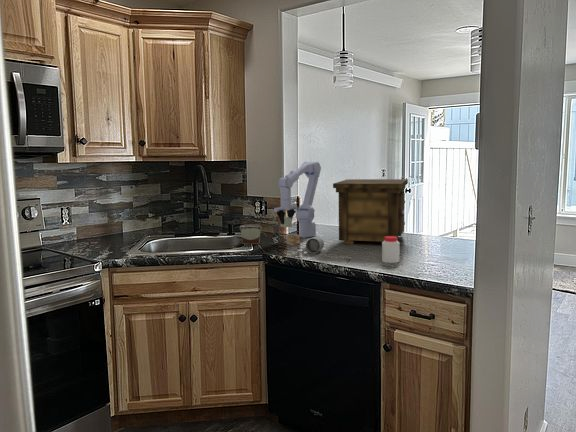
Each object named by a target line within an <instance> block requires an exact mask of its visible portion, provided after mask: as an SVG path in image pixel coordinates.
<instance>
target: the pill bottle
mask: <svg viewBox="0 0 576 432" xmlns="http://www.w3.org/2000/svg"><path fill="white" fill-rule="evenodd" d="M400 248H401V247H400V241H399V240H398V241H397V237H396V236H385V240H384V241H383V242H381V261H382V262H383V263H386V264H397V263H400V255H401V254H400Z"/></svg>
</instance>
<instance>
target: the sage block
mask: <svg viewBox="0 0 576 432" xmlns="http://www.w3.org/2000/svg"><path fill="white" fill-rule="evenodd" d="M292 224H293V219H292V218H291V217H288V216H284V224H281V223H280V227H281V228H292V227H293V225H292Z"/></svg>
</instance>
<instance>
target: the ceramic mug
mask: <svg viewBox="0 0 576 432" xmlns="http://www.w3.org/2000/svg"><path fill="white" fill-rule="evenodd" d="M324 245H325V243H324V240H323V238H322V237H319V236H313V237H309V238H308V239H307V241H306V242H305V247H303V248H301V251H302V252H306V251H307V252H308V253H309V254H312V253H315V254H317V253H319V252H320V251H322V250H323V249H324Z"/></svg>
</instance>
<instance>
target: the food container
mask: <svg viewBox="0 0 576 432" xmlns="http://www.w3.org/2000/svg"><path fill="white" fill-rule="evenodd" d="M238 229H239V230H240V233H241V234H240V235H241V241H242V245H259V244H260V243H261V242H260V241H261V231H262V230H263V229H262V226H261V224H254V223H251V224H242V225H239V228H238ZM249 243H251V244H249Z"/></svg>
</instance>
